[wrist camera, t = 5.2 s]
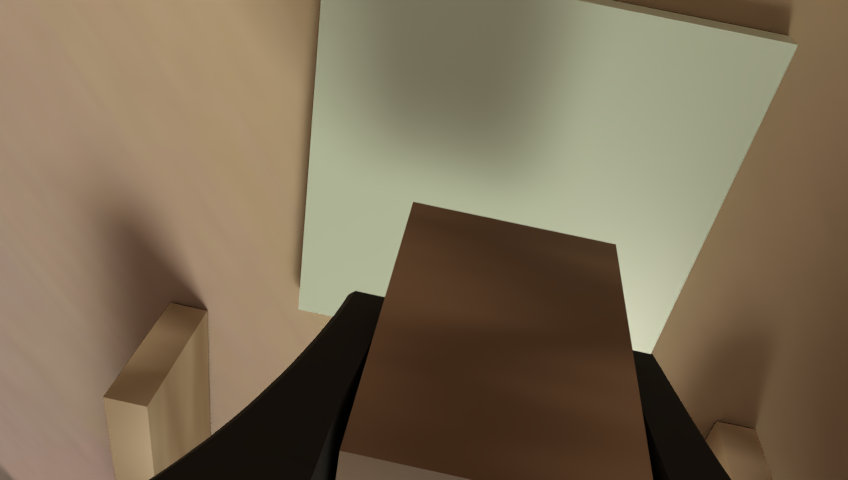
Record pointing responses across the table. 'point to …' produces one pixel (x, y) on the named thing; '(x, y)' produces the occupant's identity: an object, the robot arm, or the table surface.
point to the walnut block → (498, 360)
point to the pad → (529, 132)
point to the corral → (190, 405)
